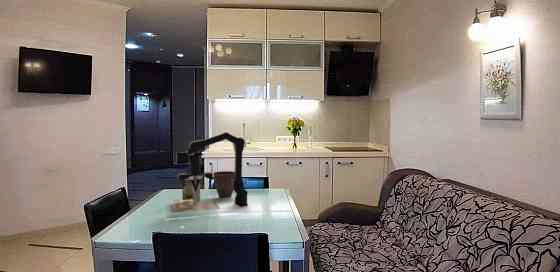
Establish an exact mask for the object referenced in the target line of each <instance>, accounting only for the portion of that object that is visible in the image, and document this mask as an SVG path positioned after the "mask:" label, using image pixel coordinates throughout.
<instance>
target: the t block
mask: <svg viewBox="0 0 560 272" xmlns="http://www.w3.org/2000/svg"><path fill="white" fill-rule="evenodd" d="M193 203H194V202H193V199H191V200H183V199H180V198H179V199H178V198H177V199H176V198H175V199H173V205H174V208H175V210H182V209H183V208H193Z"/></svg>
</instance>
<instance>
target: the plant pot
mask: <svg viewBox="0 0 560 272" xmlns="http://www.w3.org/2000/svg"><path fill="white" fill-rule="evenodd" d="M212 175H213V181H214V186H215V190H216V192H217V193H216V194H217V195H218V198H219V199H224V198H232V196H233V193H234V190H233V189H232V187H231V184H232V182H231V179H232V180H233V179H234V176H235V171H233V170H232V171H231V170H230V171H229V170H228V171H227V170H226V171H223V170H222V171H221V170H220V171H215V172H213V173H212Z"/></svg>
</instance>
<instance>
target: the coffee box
mask: <svg viewBox="0 0 560 272" xmlns="http://www.w3.org/2000/svg"><path fill="white" fill-rule="evenodd" d="M196 178H197V177H196ZM196 178H194V180H195V187H196ZM188 179H189V178H186V179H185V180H182V181H181V182H182V187H181V188H182V190H181V191H182V193H181V194H182V195H181V196H182V200H191V199H193V203H198V202H199V201H201V182H200V183H199V185H198V188H197V191H195V190H194V187H193V184H192V182H191V181H189V180H188Z"/></svg>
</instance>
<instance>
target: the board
mask: <svg viewBox="0 0 560 272" xmlns="http://www.w3.org/2000/svg"><path fill="white" fill-rule="evenodd" d="M169 207H170V211H171V214H175V213H176V214H177V213H189V212H199V211H200V212H201V211H212V210H221V207H220V206H219V205H218V204H217V203H216V201H206V202H193V208H183V209H182V210H175V208H174V204H169Z"/></svg>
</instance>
